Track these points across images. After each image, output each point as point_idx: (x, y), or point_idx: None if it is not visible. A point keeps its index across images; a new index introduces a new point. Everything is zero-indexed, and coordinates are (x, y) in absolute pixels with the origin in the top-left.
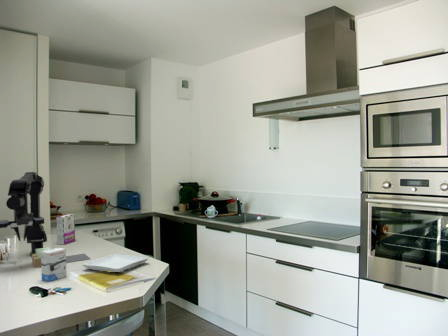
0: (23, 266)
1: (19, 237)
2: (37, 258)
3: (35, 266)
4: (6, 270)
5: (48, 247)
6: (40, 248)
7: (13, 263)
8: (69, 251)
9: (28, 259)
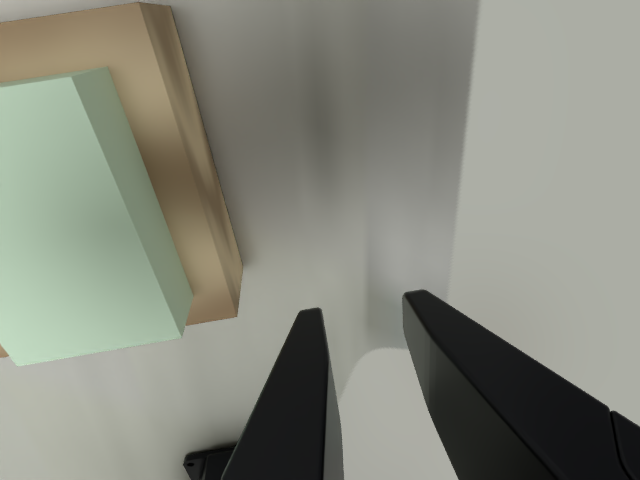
0: (305, 149)
1: (458, 341)
2: (107, 26)
3: (163, 5)
4: (455, 63)
5: (18, 354)
6: (119, 339)
7: (386, 294)
8: (3, 465)
9: None
